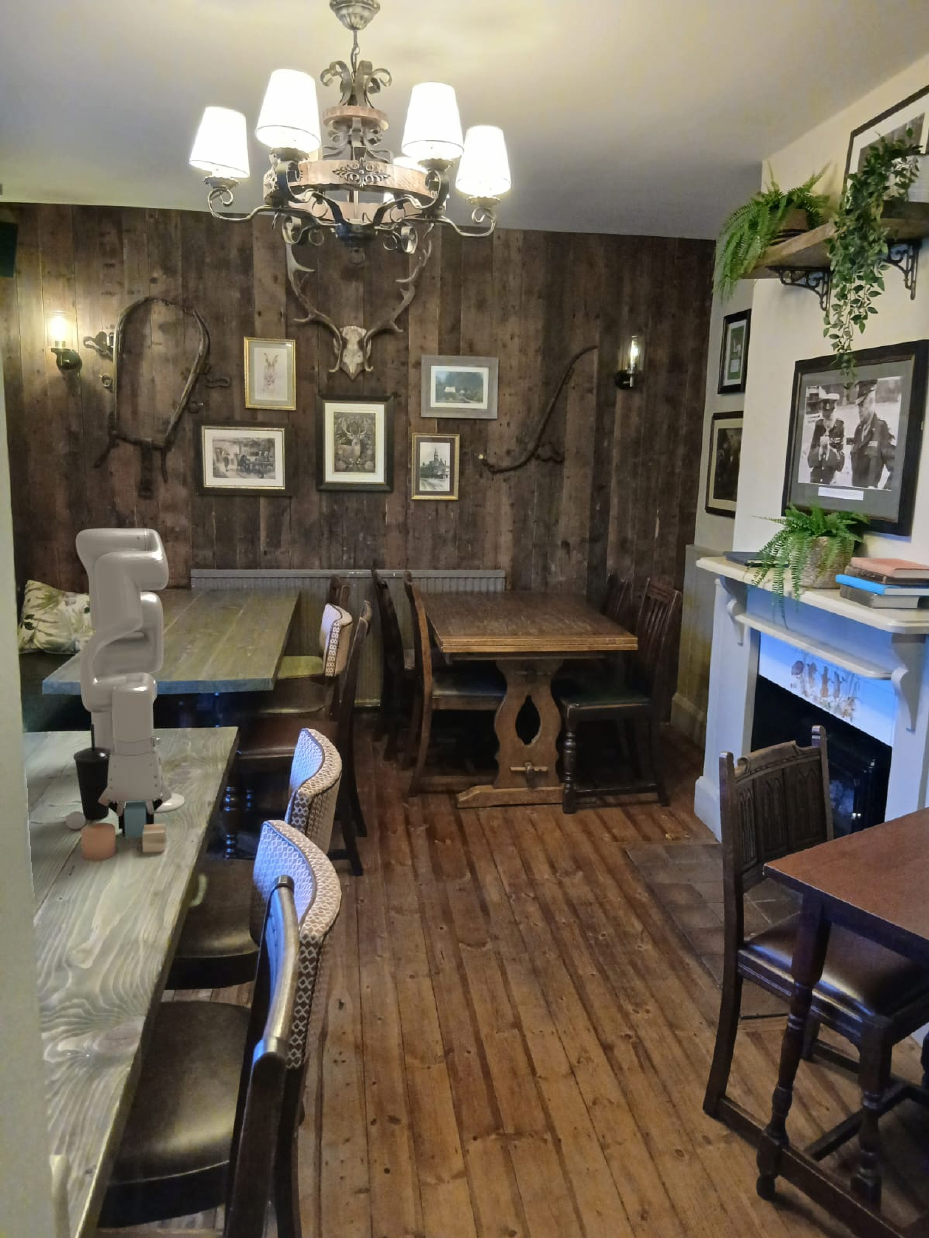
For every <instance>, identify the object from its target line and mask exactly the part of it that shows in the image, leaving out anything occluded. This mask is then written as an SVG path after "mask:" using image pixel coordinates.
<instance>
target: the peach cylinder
mask: <svg viewBox="0 0 929 1238" xmlns="http://www.w3.org/2000/svg"><path fill="white" fill-rule="evenodd" d="M116 838H117V837H116V825H114V824H112V823H110V822H95V823H91V824H88V825H86V826H84V827H83V828H81V830H80V839H81V840H80V842H81V857H82V858H83V859H84V860H86V861H91V862H95V861H96V862H97V861H103V860H107V859H110V858H112V857H113V856H115V855H116V853H117V841H116V840H117V839H116Z"/></svg>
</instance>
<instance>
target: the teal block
mask: <svg viewBox="0 0 929 1238" xmlns="http://www.w3.org/2000/svg"><path fill="white" fill-rule="evenodd" d="M146 813H147V806H146V801H128V802H125V806H124V820H125V835H124V836H125V839H131V838H133V839H134V838H142V833H143V829H144V825H146Z"/></svg>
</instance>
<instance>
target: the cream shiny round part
mask: <svg viewBox="0 0 929 1238" xmlns="http://www.w3.org/2000/svg"><path fill="white" fill-rule="evenodd" d="M171 793H172V797H171V799H169V800H168V801H166V802H165V803H163V804H162V805H161V806H160V807H159V808H158V809H157V810H156V811H155V812H154V813H166V812H168V813H169V812H172V811H175V810H178V809H180V808H182V806H184V805H185V797H184V796H183V795H182V794H179V793H176V792H175V793H174V792H171ZM162 795H163V794H162V793H161V796H162ZM161 796H160V797H161ZM155 800H156V799H154V801H155Z"/></svg>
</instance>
